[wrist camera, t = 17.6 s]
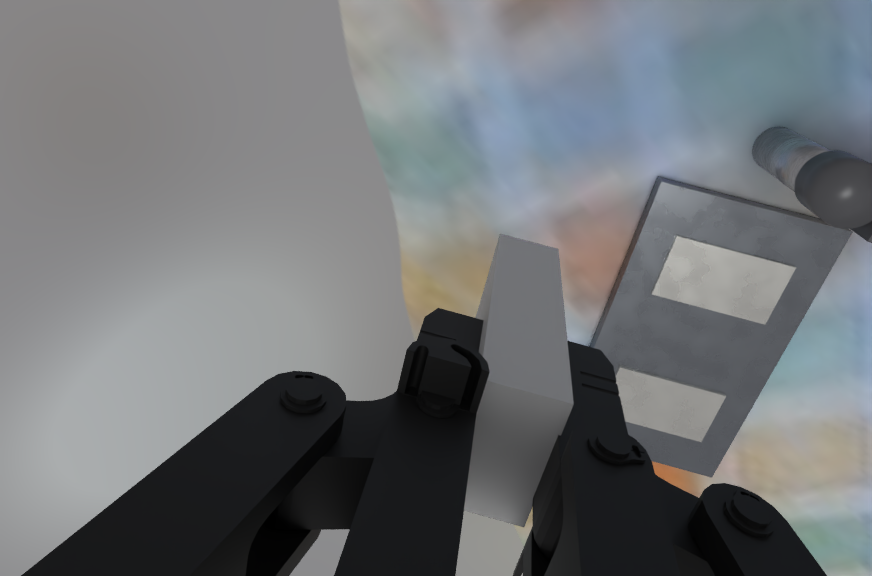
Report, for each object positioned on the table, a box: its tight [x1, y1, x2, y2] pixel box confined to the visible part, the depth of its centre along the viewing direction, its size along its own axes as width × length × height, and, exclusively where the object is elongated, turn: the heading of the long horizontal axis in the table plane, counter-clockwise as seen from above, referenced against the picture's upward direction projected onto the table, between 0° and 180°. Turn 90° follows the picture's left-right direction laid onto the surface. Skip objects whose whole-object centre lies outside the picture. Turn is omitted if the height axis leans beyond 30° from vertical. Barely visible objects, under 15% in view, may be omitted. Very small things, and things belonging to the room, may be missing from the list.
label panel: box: [590, 127, 852, 477], centre depth 46 cm, size 14×30×8 cm, turn 167°
